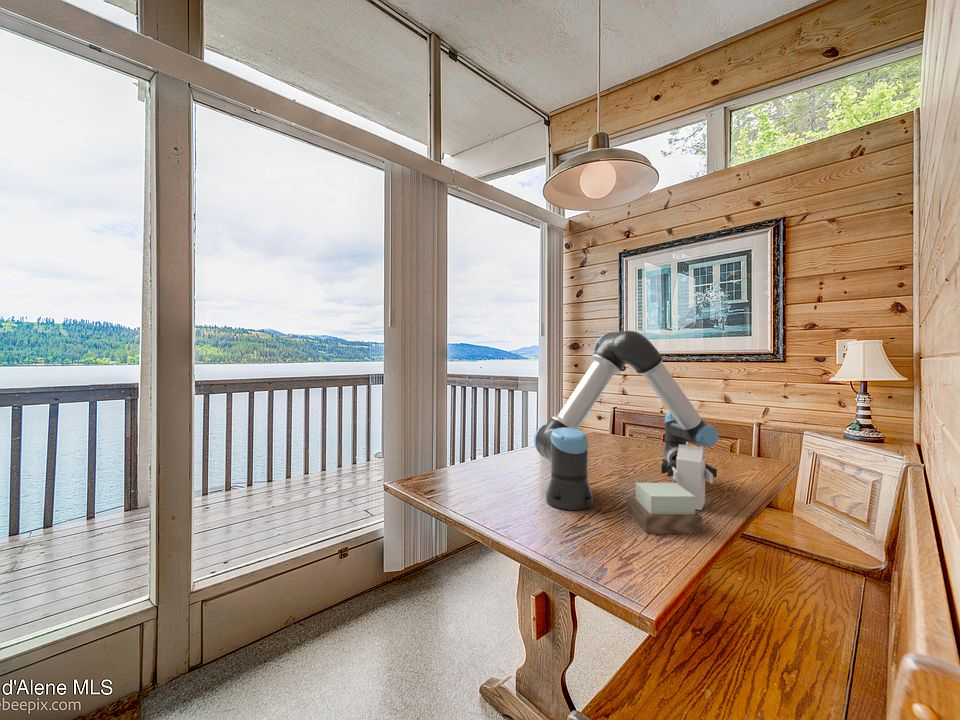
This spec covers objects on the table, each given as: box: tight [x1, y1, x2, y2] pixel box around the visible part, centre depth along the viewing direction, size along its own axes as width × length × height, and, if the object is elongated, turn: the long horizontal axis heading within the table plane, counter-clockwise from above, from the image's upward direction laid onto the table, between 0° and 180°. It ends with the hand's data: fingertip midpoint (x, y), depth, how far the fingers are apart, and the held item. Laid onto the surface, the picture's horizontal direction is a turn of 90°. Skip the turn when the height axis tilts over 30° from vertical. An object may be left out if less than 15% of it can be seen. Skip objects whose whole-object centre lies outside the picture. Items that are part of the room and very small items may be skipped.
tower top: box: [634, 482, 696, 515], centre depth 119 cm, size 12×12×5 cm
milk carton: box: [675, 444, 706, 511], centre depth 131 cm, size 7×7×19 cm
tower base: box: [626, 497, 703, 534], centre depth 119 cm, size 15×15×5 cm
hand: (693, 477), depth 127 cm, fingers closed on milk carton, 9 cm apart
